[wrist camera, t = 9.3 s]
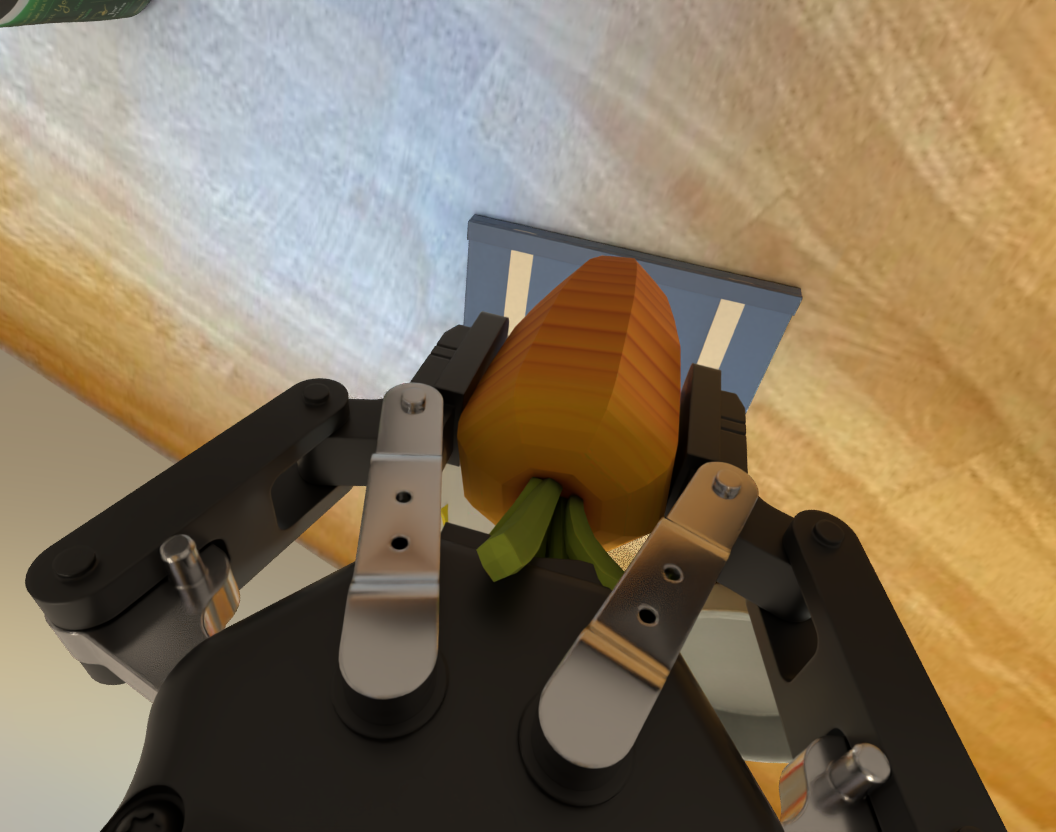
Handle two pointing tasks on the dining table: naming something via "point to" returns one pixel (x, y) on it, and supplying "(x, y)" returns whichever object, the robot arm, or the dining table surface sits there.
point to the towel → (693, 291)
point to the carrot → (576, 423)
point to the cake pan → (736, 677)
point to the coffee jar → (65, 11)
